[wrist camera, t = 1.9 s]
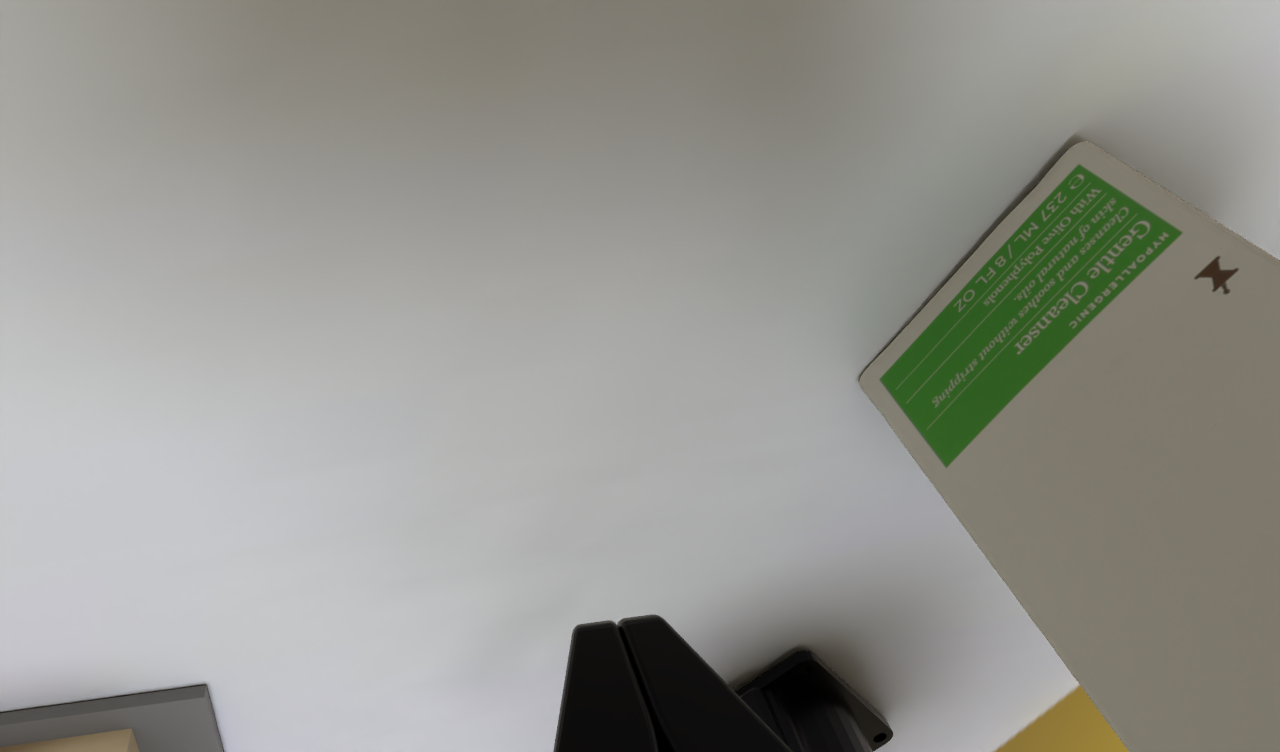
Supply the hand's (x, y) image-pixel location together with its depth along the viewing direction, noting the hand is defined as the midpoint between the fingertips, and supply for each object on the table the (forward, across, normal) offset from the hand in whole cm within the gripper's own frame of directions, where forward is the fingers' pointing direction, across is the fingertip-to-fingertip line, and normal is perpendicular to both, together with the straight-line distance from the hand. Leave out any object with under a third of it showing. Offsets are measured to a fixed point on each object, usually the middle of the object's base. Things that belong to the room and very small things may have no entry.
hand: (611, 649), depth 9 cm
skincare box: (+13, -14, +5) cm, 20 cm away
